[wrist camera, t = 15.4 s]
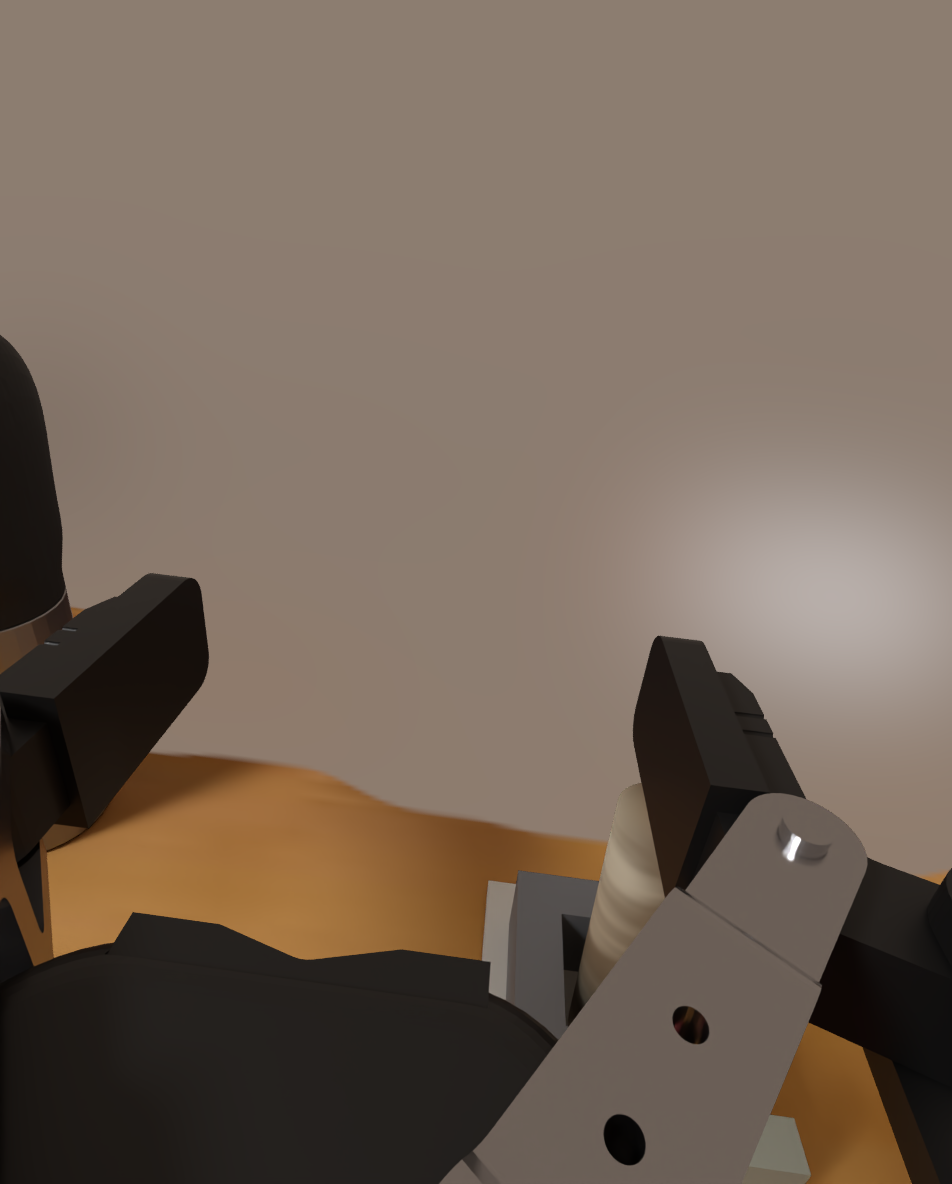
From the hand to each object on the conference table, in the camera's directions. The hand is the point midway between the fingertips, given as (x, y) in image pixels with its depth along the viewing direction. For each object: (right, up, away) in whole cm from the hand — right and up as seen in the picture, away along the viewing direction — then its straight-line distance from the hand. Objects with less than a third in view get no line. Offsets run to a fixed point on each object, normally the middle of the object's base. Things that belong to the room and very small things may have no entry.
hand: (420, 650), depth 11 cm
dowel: (+8, -23, +24) cm, 34 cm away
